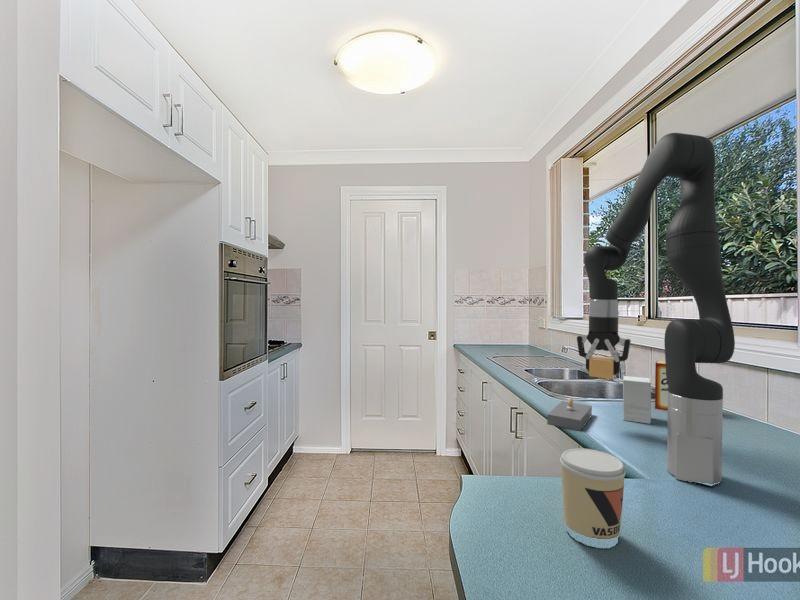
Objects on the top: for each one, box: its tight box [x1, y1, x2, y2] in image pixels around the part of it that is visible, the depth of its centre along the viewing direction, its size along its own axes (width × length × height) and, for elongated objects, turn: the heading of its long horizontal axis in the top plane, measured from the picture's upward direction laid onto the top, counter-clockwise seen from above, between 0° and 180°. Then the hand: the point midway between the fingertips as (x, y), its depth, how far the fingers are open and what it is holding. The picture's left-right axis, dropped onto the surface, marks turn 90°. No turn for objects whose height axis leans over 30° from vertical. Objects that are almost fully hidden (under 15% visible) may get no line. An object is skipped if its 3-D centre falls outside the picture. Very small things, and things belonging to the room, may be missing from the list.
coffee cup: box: [559, 447, 627, 539], centre depth 61 cm, size 9×9×12 cm
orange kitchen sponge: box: [588, 355, 617, 380], centre depth 111 cm, size 6×6×5 cm
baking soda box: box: [654, 359, 668, 412], centre depth 130 cm, size 10×6×16 cm
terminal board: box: [546, 397, 593, 432], centre depth 118 cm, size 18×9×6 cm, turn 144°
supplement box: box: [622, 375, 652, 425], centre depth 119 cm, size 7×7×13 cm
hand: (602, 372), depth 111 cm, fingers closed on orange kitchen sponge, 6 cm apart
